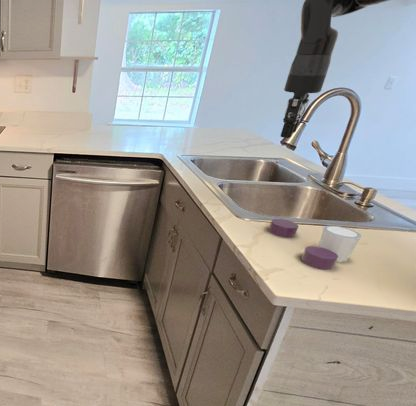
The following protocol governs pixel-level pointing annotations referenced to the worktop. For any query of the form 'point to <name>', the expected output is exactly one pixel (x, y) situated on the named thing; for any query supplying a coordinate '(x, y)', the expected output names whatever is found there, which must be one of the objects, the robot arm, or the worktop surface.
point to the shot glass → (339, 241)
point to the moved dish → (283, 228)
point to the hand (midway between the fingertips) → (287, 134)
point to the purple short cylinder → (319, 257)
